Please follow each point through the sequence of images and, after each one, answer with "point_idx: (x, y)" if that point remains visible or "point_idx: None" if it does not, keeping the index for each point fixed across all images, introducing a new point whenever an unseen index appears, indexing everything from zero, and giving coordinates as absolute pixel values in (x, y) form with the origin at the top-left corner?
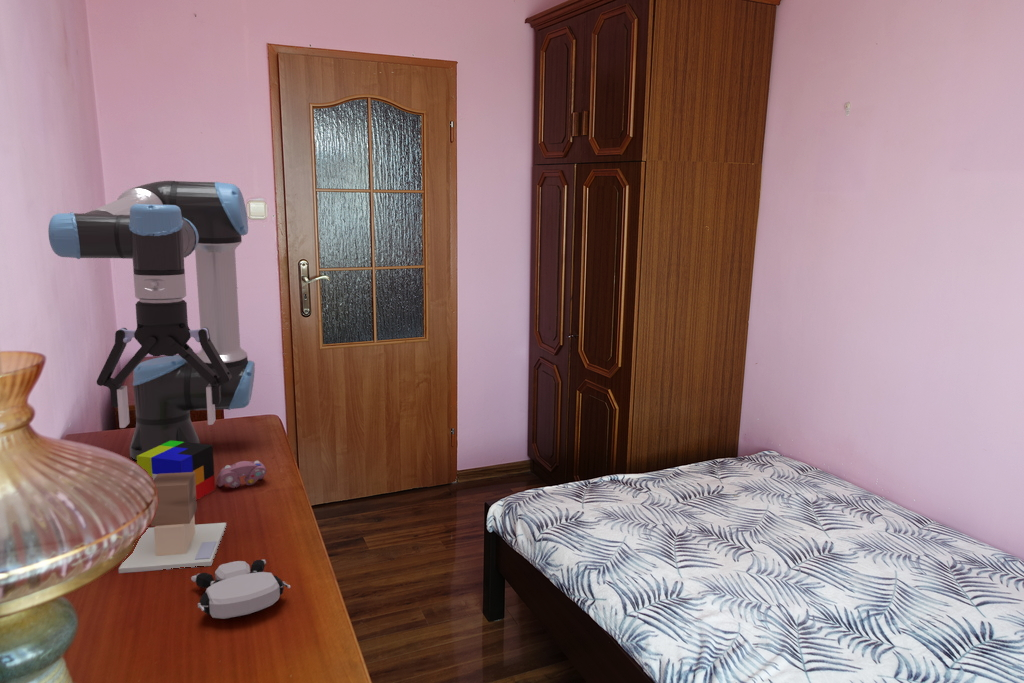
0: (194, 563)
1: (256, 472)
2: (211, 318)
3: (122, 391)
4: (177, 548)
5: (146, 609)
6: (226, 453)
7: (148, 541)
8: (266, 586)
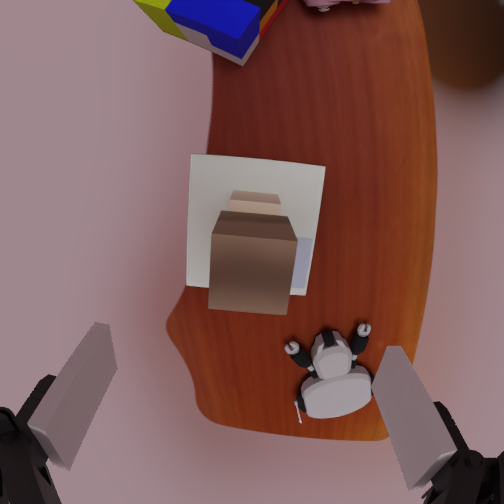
0: None
1: (373, 3)
2: None
3: (70, 461)
4: None
5: (240, 363)
6: None
7: (207, 209)
8: (359, 406)
